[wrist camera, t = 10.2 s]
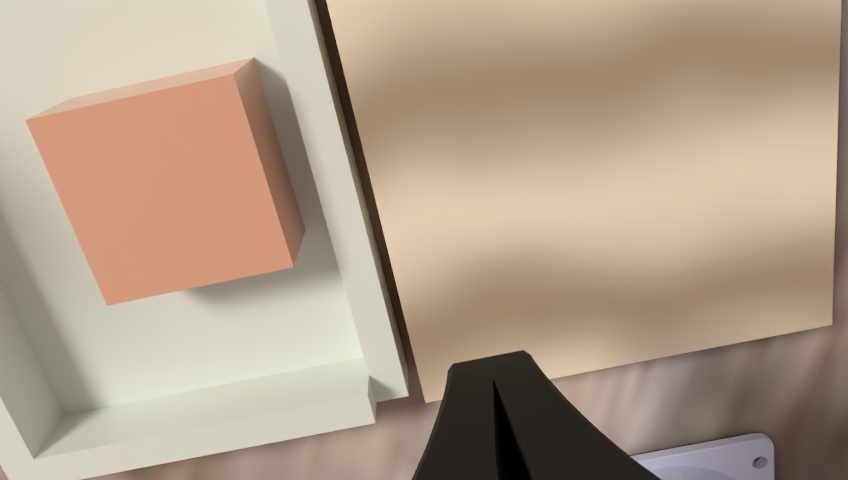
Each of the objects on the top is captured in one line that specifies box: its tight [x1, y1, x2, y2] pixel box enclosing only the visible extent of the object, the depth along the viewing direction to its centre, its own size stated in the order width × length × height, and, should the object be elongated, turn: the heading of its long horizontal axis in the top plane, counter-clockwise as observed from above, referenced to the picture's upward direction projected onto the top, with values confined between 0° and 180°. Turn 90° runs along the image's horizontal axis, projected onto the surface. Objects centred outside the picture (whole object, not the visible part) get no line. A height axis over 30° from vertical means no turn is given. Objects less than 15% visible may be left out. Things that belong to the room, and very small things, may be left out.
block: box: [25, 57, 305, 306], centre depth 18 cm, size 5×5×2 cm
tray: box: [0, 0, 409, 480], centre depth 19 cm, size 16×12×2 cm
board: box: [326, 0, 842, 403], centre depth 18 cm, size 16×12×2 cm
